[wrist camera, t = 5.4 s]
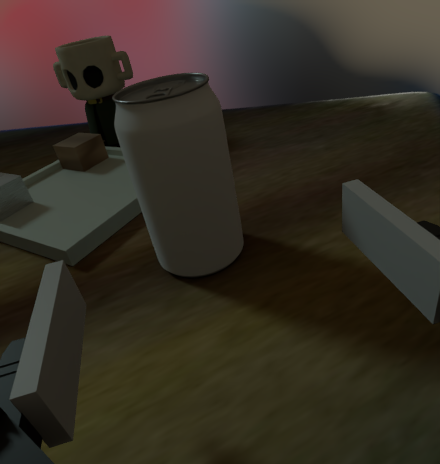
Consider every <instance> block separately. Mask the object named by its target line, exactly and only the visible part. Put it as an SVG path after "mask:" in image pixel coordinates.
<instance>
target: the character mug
mask: <svg viewBox="0 0 440 464" xmlns="http://www.w3.org/2000/svg"><path fill="white" fill-rule="evenodd" d="M55 50H56V54H57V56H58V59H59V62H55V63H54V64H53V67H54V71H55V73H56V76H57V79H58V81H59V84H60V85H61V87H63V88H68V89H69V91H70V92H71V94H72V95H73V96H74V97H75V98H76V99H78V100H86V101H87V102H86V104H85V112H86V116H87V120H88V125H89V129H90V133H91V134H101V137H102V140H105V141H106V142H107V144H108V145H113V144H117V143H119V141H118V138H117V135H116V131H115V127H114V121H115V113H116V104H115V102H114V101H113V99H112V97H113V95H114V94H115V93H116V92H118V91H120V90H121V89H122V88H123V87H125V86H124V85H125V83H124V82H125V81H124V80H127V79H131V78H133V72H132V68H131V64H130V61H129V57H128V55H127V53H126V52H124V51H120V52H116V51H115V47H114V44H113V41H112V39H111V36H101V37H94V38H89V39H85V40H80V41H76V42H72V43H68V44H65V45H62V46H59V47H57V48H55ZM118 60H121V61H122V63H123V67H124V70H125V72H122V71H121V67H120V64H119V61H118Z"/></svg>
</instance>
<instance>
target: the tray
mask: <svg viewBox="0 0 440 464" xmlns="http://www.w3.org/2000/svg"><path fill="white" fill-rule="evenodd" d="M105 148H106V151H107V154H108V156H109V158H107V159H106V160H104V161H102V162H100V163H99V164H97V165H95V166H94V167H92V168H90V169H89V170H87V171H85V172H81V171H74V170H66V169H63V168H62V166H61V164H60V161H59V160H57V161H55V162H54V163H52V164H50V165H48V166H46V167H44V168H42V169H40V170H38V171H37V172H35V173H33V174H31V175H29V176H27V177H25V178H23V179H22V180H23V182H24V184H25V186H26V188H27V190H28V192H29V194H30V195H31V197H32V199H33V201H34V202H33V203H31V204H29V205H28V206H26V207H24V208H23V209H21V210H19V211H17V212H16V213H14V214H12V215H11V216H9V217H7V218H6V219H4V220H2V221H1V222H0V242H3V243H6V244H9V245H12V246H15V247H18V248H21V249H24V250H27V251H29V252H32V253H35V254H38V255H41V256H44V257H47V258H50V259H53V260H56V261H61V260H64V262H65V264H68V265H71V266H74V265H75V264H76V263H78V262H79V261H80V260H81V259H83V258H84V257H85V256H86V255H88V254H89V253H90V252H92V251H93V250H94V249H95V248H97V247H98V246H99V245H100V244H102V243H103V242H104V241H105V240H107V239H108V238H109V237H111V236H112V235H113V234H114V233H116V232H117V231H118V230H119V229H121V228H122V227H123V226H124V225H126V224H127V223H128V222H130V221H131V220H132V219H133V218H135V217H136V216H137V215H138V214H140V213H141V212H142V211H141V208H140V205H139V202H138V199H137V196H136V193H135V190H134V187H133V184H132V181H131V178H130V175H129V172H128V169H127V166H126V163H125V160H124V157H123V153H122V150H121V148H119V147H106V146H105Z"/></svg>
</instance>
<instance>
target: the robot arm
mask: <svg viewBox="0 0 440 464" xmlns="http://www.w3.org/2000/svg"><path fill="white" fill-rule="evenodd" d="M342 232H343V233H344V234H345V235H346V236H347V237H348V238H349V239H350V240H351V241H352V242H353V243H354V244H355V245H356V246H357V247H358V248H359V249H360V250H361V251H362V252H363V253H364V254H365V255H366V256H367V257H368V258H369V259H370V260H371V261H372V263H373V264H374V265H375V266H376V267H377V268H378V269H379V270H380V271H381V272H382V273H383V274H384V275H385V276H386V277H387V278H388V279H389V280H390V281H391V282H392V283H393V284H394V285H395V286H396V287H397V288H398V289H399V290H400V291H401V292H402V293H403V294H404V295H405V296H406V297H407V298H408V299H409V300H410V301H411V302H412V303H413V304H414V305H415V306H416V307H417V308H418V309H419V310H420V311H421V313H422V314H423V315H424V316H425V317H426V318H427V319H428V320H429V321H430V322H431V323H432V324H435V323H438V322H440V227H439V226H438V225H435V224H432V223H429V222H427V221H421V222H417V223H416V222H415V221H413V220H412V219H411V218H409V217H408V216H407V215H405V214H404V213H403V212H401V211H400V210H398V209H397V208H396V207H394V206H393V205H392V204H390V203H389V202H388V201H386V200H385V199H384V198H382V197H381V196H380V195H378V194H377V193H375V192H374V191H373V190H371V189H370V188H369V187H367V186H366V185H365V184H363V183H362V182H361V181H359V180H358V179H357V180H353V181H350V182H346V183H343V188H342ZM85 314H86V303H85V301H84V299H83V297H82V296H81V294H80V292H79V290H78V288H77V286H76V284H75V282H74V280H73V278H72V276H71V274H70V272H69V270H68V268H67V266H66V264H65V262H64V260H61V261H58V262H54V263H50V264H47V265H45V269H44V272H43V276H42V280H41V283H40V287H39V291H38V295H37V298H36V302H35V306H34V309H33V313H32V317H31V321H30V324H29V328H28V332H27V335H26V338H23V339H19V340H16V341H12V342H11V343H10V345H9V346H8V347H7V349H6V350H5V352H4V353H3V354H2V357H1V360H0V464H54V463H53V462H52V461H51V460H50V459H49V458H48V457H47V456H46V455H45V454H44V452H43V451H42V450H41V443H42V440H43V441H44V442H45V443H46V444H47V446H48V447H49V448H51V447H54V446H57V445H60V444H63V443H67V442H70V441H73V435H74V425H75V415H76V405H77V395H78V384H79V374H80V364H81V354H82V344H83V334H84V324H85Z"/></svg>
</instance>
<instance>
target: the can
mask: <svg viewBox="0 0 440 464" xmlns="http://www.w3.org/2000/svg"><path fill="white" fill-rule="evenodd" d="M208 81H209V77H208V76H207V75H206V74H203V73H182V74H174V75H168V76H162V77H158V78H154V79H150V80H146V81H142V82H139V83H136V84H134V85H131V86H128V87H126V88H124V89H121V90H120V91H118V92H116V93H115V94H114V95H113V97H112V99H113V101H114V102H115V104H116V113H115V121H114V127H115V131H116V135H117V138H118V141H119V144H120V147H121V150H122V153H123V157H124V160H125V163H126V166H127V169H128V172H129V175H130V178H131V181H132V184H133V187H134V190H135V193H136V196H137V199H138V202H139V205H140V208H141V211H142V213H143V216H144V219H145V222H146V225H147V228H148V231H149V234H150V237H151V240H152V243H153V246H154V249H155V252H156V255H157V257H158V260H159V262H160V264H161V266H162V267H163V268H164V269H165V270H167V271H169V272H171V273H173V274H175V275H177V276H181V277H188V278H196V277H204V276H208V275H211V274H214V273H217V272H219V271H221V270H223V269H225V268H226V267H228V266H229V265H230V264H231V263H233V261H234V260H235V259H236V258H237V257H238V255H239V254H240V252H241V251H242V248H243V234H242V227H241V221H240V215H239V209H238V203H237V197H236V191H235V185H234V179H233V173H232V167H231V161H230V155H229V149H228V143H227V138H226V132H225V126H224V120H223V115H222V110H221V106H220V102H219V100H218V98H217V97H216V95H215V94H214V92H213V91H212V90H211V88H210V86H209V84H208Z"/></svg>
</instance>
